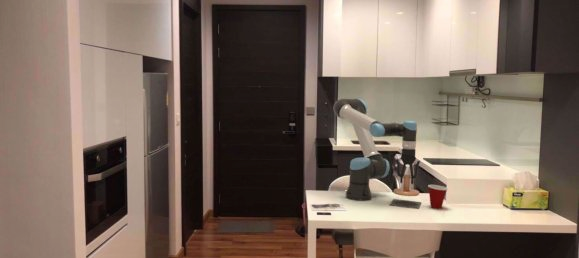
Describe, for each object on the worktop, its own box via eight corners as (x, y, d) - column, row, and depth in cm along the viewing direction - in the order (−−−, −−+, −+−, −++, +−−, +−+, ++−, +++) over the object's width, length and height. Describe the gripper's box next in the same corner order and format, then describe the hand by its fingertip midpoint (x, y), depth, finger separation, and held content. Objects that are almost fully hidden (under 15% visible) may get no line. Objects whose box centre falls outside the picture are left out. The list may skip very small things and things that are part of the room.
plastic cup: (447, 210, 272) (448, 189, 271) (427, 208, 274) (428, 187, 273) (445, 206, 283) (447, 185, 282) (426, 204, 285) (427, 183, 284)
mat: (389, 205, 279) (389, 204, 279) (393, 199, 293) (393, 198, 293) (418, 208, 274) (418, 207, 274) (421, 203, 288) (421, 202, 288)
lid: (391, 194, 279) (392, 176, 278) (395, 189, 292) (396, 172, 291) (417, 197, 274) (418, 178, 273) (420, 192, 287) (421, 174, 286)
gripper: (393, 147, 280) (390, 188, 282) (423, 150, 274) (420, 191, 276) (395, 146, 287) (393, 186, 289) (424, 148, 281) (422, 189, 283)
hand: (406, 189), depth 283 cm, fingers closed on lid, 3 cm apart
